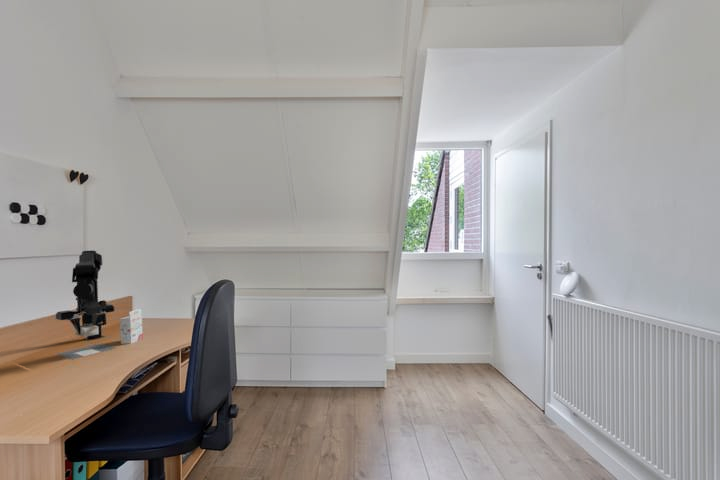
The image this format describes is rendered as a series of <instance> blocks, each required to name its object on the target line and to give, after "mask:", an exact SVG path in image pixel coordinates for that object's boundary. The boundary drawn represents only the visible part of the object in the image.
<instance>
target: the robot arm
mask: <svg viewBox="0 0 720 480" xmlns="http://www.w3.org/2000/svg"><path fill="white" fill-rule="evenodd" d="M102 266H103V255H102V254H100V253H97V251H96V250H94V249H93V250H83V251H81V254H80V255H79V259H78V263H76V264H75V266H74V267H73V268H72V274H71V275H72V277H71V283H76V285H75V286H74V287H73V289H72V293H73V295H74V296H75V301H77V302H76V303H77V306H76V308H75V311H73V310H63V311H61V310H60V311H57V312H56V313H55V320H59V321H66V320H67V321H70V323H71V324H72V326H73V327H74V330H75V329H76V331H77V333H78V334H80V333H81V329H80V326H82V325H88V324H91V325H95V326H98V328H99V334H96V335H92V336H87V337H84V338H83V340H87V341H92V340H97V339H101V338H105V336H104V335H103V334H102V333H103V331H102V328H103V327H102V326H105V325H107V315H106V314H107V313H111V312H112V313H113V312H115V306H114V305H113V304H107V301H106V299H105V300H99V289H98V288H99V286H98V279H99V272H100V270H101V269H102ZM79 316H81V317H79ZM80 322H82V323H80ZM81 324H82V325H81Z"/></svg>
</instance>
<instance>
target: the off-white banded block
mask: <svg viewBox="0 0 720 480" xmlns="http://www.w3.org/2000/svg"><path fill="white" fill-rule="evenodd" d="M80 329H81V333H80V334H78V333H77V331H76V329H75V328H74V330H75V336H79V337H84V338H87V336H92V335H96V334H99V328H98V326H95V325H91V324H88V325H80Z"/></svg>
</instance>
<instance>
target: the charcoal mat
mask: <svg viewBox="0 0 720 480" xmlns="http://www.w3.org/2000/svg"><path fill="white" fill-rule="evenodd" d="M115 349H117V347H114V346H111V345H107V344H103V343H98V344H93V345H89V346H88V345H87V346H85V347H81V348H76V349H72V350H71V349H70V350H67V351H63V352H59V353H56V355H58V356H61V357H64V358H67V359H69V360H75V359H80V358H84V357H87V356H91V355H96V354H100V353H103V352H108V351H112V350H115Z"/></svg>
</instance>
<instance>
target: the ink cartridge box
mask: <svg viewBox="0 0 720 480" xmlns="http://www.w3.org/2000/svg"><path fill="white" fill-rule="evenodd" d="M128 314H129V316H125V317H121V318H119V326H120V327H119V329H120V330H119V331H120V345H122V344H123V345H125V344H127V345H128V344H130V345H131V344H133V343H136V342H139V340H140V341H142V340H144V338H143V337H144V334H143V314H142V309H141V308H137V309H134V310H131V311H129V312H128Z"/></svg>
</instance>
